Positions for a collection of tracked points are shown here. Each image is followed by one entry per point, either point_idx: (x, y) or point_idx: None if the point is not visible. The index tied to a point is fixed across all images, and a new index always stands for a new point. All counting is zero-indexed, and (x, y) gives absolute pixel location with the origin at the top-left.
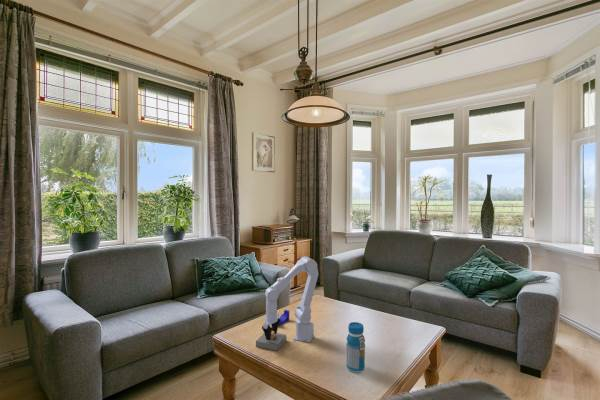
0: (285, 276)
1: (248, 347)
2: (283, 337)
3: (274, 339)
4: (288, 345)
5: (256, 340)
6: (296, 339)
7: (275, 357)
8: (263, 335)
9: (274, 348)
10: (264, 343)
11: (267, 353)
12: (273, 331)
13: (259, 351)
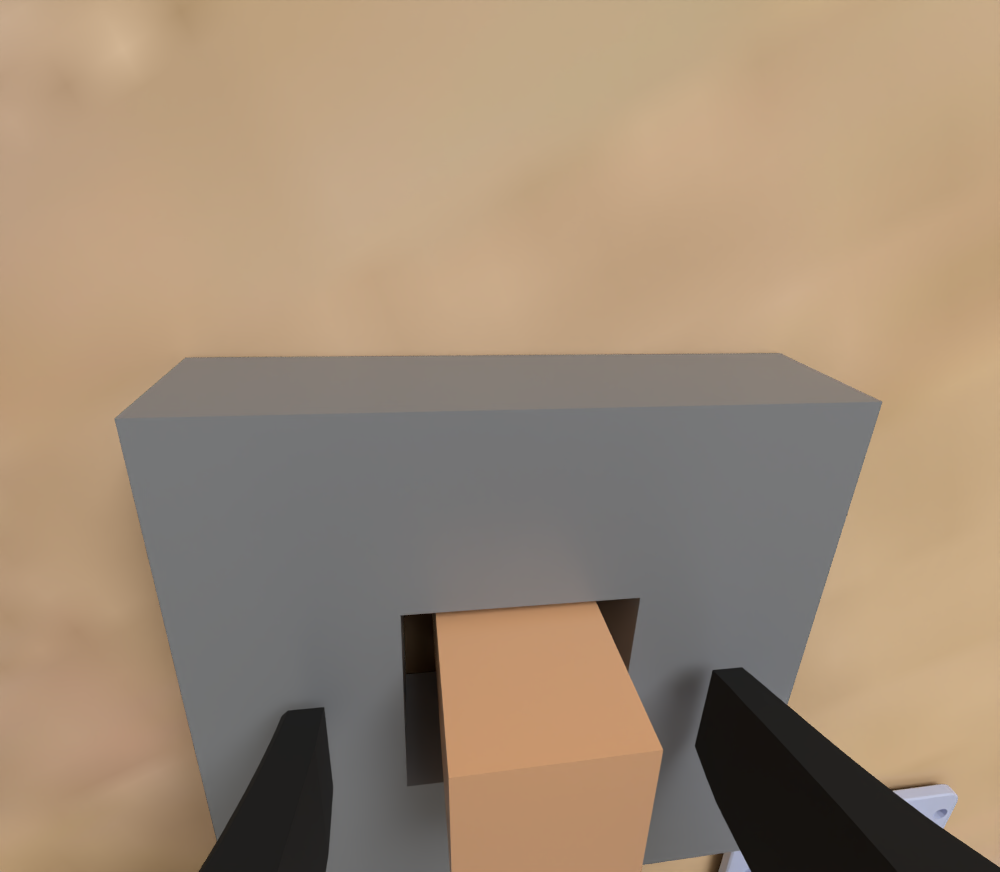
0: None
1: (13, 164)
2: None
3: None
4: None
5: (160, 419)
6: (725, 859)
7: (53, 865)
8: (581, 457)
9: None
10: (187, 668)
11: (81, 713)
12: (629, 864)
13: (38, 548)
